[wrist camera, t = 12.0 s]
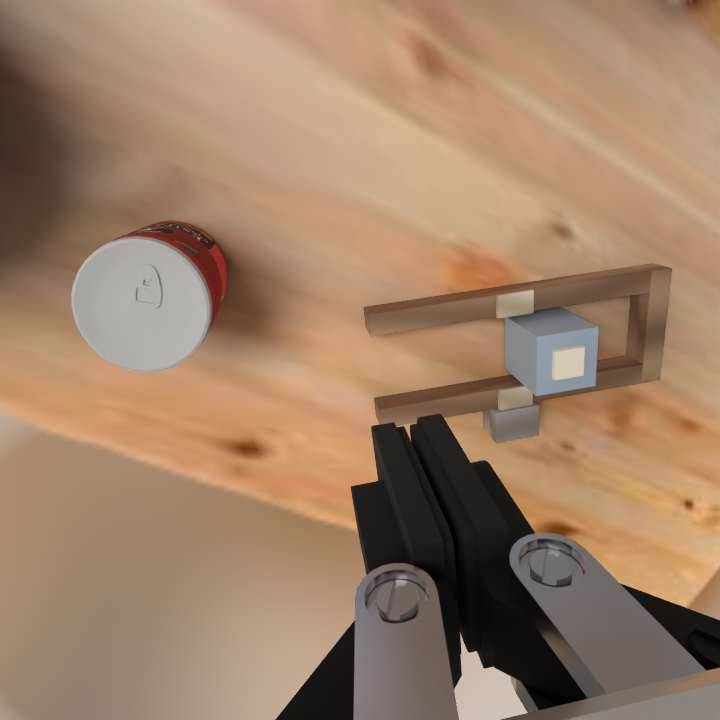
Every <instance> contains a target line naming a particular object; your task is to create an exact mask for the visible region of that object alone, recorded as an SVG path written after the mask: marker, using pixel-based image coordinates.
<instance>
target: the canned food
mask: <svg viewBox="0 0 720 720" xmlns="http://www.w3.org/2000/svg"><path fill="white" fill-rule="evenodd" d="M226 287H227V269H226V264H225V261H224V258H223V255H222V253H221V251H220V250H219V248H218V246H217V245H216V244H215V242H214V241H213V240H212V239H211V238H210V237H209V236H208V235H207V234H205V233H204V232H203V231H202V230H200V229H198V228H196V227H194V226H193V225H190V224H186V223H183V222H177V221H164V222H158V223H155V224H152V225H149V226H147V227H144V228H142V229H139V230H136V231H134V232H131V233H129V234H126V235H124V236H121V237H119V238H116V239H114V240H113V241H110V242H108V243H107V244H105V245H103V246H101V247H100V248H98V249H97V250H96V251H95V252H94V253H93V254H91V255H90V256H89V257H88V258H87V259H86V260H85V262H84V263H83V265H82V266H81V267H80V269H79V270H78V273H77V275H76V278H75V280H74V283H73V288H72V294H71V301H72V312H73V315H74V319H75V323H76V325H77V327H78V329H79V331H80V333H81V335H82V337H83V338H84V339H85V341H86V342H87V343H88V345H89V346H90V347H91V348H92V349H93V350H94V351H95V352H96V353H97V354H98V355H99V356H101V357H102V358H104V359H105V360H107V361H108V362H110V363H112V364H114V365H116V366H119V367H121V368H123V369H128V370H132V371H136V372H156V371H163V370H166V369H169V368H172V367H175V366H176V365H178V364H180V363H182V362H184V361H185V360H186V359H187V358H189V357H190V356H191V355H192V354H193V353H194V352H195V351H196V350H197V349H198V347H199V346H200V345H201V344H202V342H203V341H204V339H205V337H206V335H207V333H208V331H209V329H210V327H211V325H212V322H213V320H214V318H215V316H216V313H217V311H218V309H219V306H220V304H221V302H222V299H223V297H224V295H225V291H226Z"/></svg>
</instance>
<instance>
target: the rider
mask: <svg viewBox="0 0 720 720" xmlns="http://www.w3.org/2000/svg"><path fill="white" fill-rule="evenodd" d="M598 333H599V327H598V326H596V325H594V324H592V323H590V322H588V321H586V320H584V319H582V318H580V317H578V316H576V315H574V314H572V313H570V312H568V311H566V310H564V309H562V308H560V307H558V308H552V309H545V310H539V311H534V313H531V314H524V315H518V316H512V317H505V369H506V370H507V371H508V372H509V373H511V374H512V375H513V376H514V377H515V378H516V379H517V380H518V381H520V382H521V383H522V384H523V385H524V386H525V387H526V388H528V389H529V390H530V391H531V392H532V393H533V394H534V395H535V396H540V395H546V394H552V393H558V392H563V391H569V390H575V389H581V388H586V387H592V386H595V384H596V367H597V350H598Z"/></svg>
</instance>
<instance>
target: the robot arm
mask: <svg viewBox="0 0 720 720" xmlns="http://www.w3.org/2000/svg"><path fill="white" fill-rule="evenodd" d="M371 429H372V438H373V445H374V452H375V460H376V467H377V474H378V481H376V482H371V483H366V484H361V485H356V486H351V492H352V498H353V504H354V510H355V516H356V522H357V528H358V533H359V538H360V544H361V548H362V554H363V558H364V563H365V569H366V574H367V576H365V577H364V578H363V580H362V581H361V583H360V585H359V586H358V588H357V593H356V598H355V621H354V622H353V623H352V625H351V626H350V627H349V628H348V629H347V631H346V632H345V633H344V634H343V636H342V637H341V638H340V640H339V641H338V642H337V643H336V645H335V646H334V647H333V648H332V650H331V651H330V652H329V653H328V654H327V656H326V657H325V658H324V659H323V661H322V662H321V663H320V665H319V666H318V667H317V668H316V670H315V671H314V672H313V673H312V675H311V676H310V677H309V678H308V680H307V681H306V682H305V683H304V685H303V686H302V687H301V688H300V690H299V691H298V692H297V693H296V695H295V696H294V697H293V698H292V700H291V701H290V702H289V703H288V705H287V706H286V707H285V709H284V710H283V711H282V712H281V714H280V715H279V716H278V717H277V719H276V720H459V718H458V712H457V706H456V700H455V694H454V688H455V687H456V685H457V683H458V681H459V679H460V677H461V675H462V672H461V658H460V655H461V642H460V633H461V635H462V638H463V641H464V644H465V646H466V649H467V651H468V652H474V651H477V652H478V655H479V657H480V660H481V663H482V665H483V668H489V667H493V666H494V667H495V668H496V669H499V670H500V671H502V672H504V673H506V674H508V675H510V676H511V682H512V684H513V687H514V689H515V692H516V694H517V695H518V697H519V699H520V701H521V702H522V704H523V705H524V707H525V709H526V711H527V712H528V713H526V714H523V715H518V716H514V717H510V718H506V719H502V720H720V620H717V619H714V618H712V617H709V616H706V615H703V614H701V613H698V612H695V611H692V610H690V609H687V608H685V607H682V606H679V605H677V604H674V603H671V602H669V601H666V600H663V599H661V598H658V597H655V596H652V595H650V594H647V593H644V592H642V591H639V590H636V589H634V588H631V587H628V586H626V585H623V584H620V583H619V582H618V581H617V580H616V579H615V578H614V577H613V576H612V575H611V574H610V573H609V572H608V571H607V570H606V569H605V568H604V567H603V566H602V565H601V564H600V563H599V562H598V561H597V560H596V559H595V558H594V557H593V556H592V555H591V554H590V553H589V552H588V551H587V550H586V549H585V548H583V547H582V546H581V545H580V544H578V543H577V542H576V541H574V540H571V539H569V538H567V537H565V536H562V535H558V534H553V533H535V532H534V531H533V529H532V528H531V526H530V525H529V523H528V522H527V520H526V519H525V517H524V516H523V514H522V513H521V511H520V509H519V508H518V506H517V505H516V503H515V502H514V500H513V499H512V497H511V496H510V494H509V493H508V491H507V490H506V488H505V487H504V485H503V484H502V482H501V481H500V479H499V478H498V476H497V475H496V473H495V472H494V470H493V468H492V467H491V465H490V464H489V463H488V462H487V461H485V460H483V461H478V462H473V463H470V461H469V459H468V458H467V456H466V454H465V453H464V451H463V449H462V448H461V446H460V444H459V443H458V441H457V439H456V438H455V436H454V434H453V433H452V431H451V429H450V428H449V426H448V424H447V423H446V421H445V419H444V418H443V416H442V415H441V414H440V413H439V414H434V415H428V416H423V417H418V418H417V424H413V425H410V435H411V441H410V439H409V436H408V434H407V432H406V429H405V427H404V426H402V427H396V425H395V423H394V422H391V423H386V424H380V425H375V426H372V427H371Z"/></svg>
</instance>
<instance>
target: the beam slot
mask: <svg viewBox="0 0 720 720" xmlns="http://www.w3.org/2000/svg"><path fill="white" fill-rule="evenodd" d="M671 272H672V268H668V267H664V266H660V265H656V264H646V265H640V266H633V267H626V268H620V269H613V270H607V271H600V272H593V273H587V274H580V275H574V276H567V277H560V278H554V279H547V280H540V281H534V282H527V283H521V284H514V285H507V286H501V287H494V288H488V289H481V290H474V291H468V292H461V293H455V294H448V295H441V296H435V297H428V298H422V299H415V300H408V301H402V302H395V303H389V304H382V305H375V306H369V307H364V315H365V324H366V329H367V331H368V332H369V334H370V336H377V335H383V334H389V333H396V332H402V331H408V330H415V329H421V328H428V327H434V326H440V325H447V324H453V323H459V322H466V321H472V320H479V319H485V318H491V317H497V318H498V319H499V318H505V317H512V316H518V315H524V314H531V313H534V311H536V310H542V309H549V308H555V307H561V306H568V305H574V304H580V303H587V302H593V301H600V300H606V299H612V298H619V297H625V296H631V301H630V314H629V326H628V339H627V351H626V356H621V357H615V358H609V359H603V360H597V367H596V384H595V386H592V387H586V388H581V389H575V390H569V391H563V392H558V393H552V394H546V395H540V396H535V395H534V394H533V393H532V392H531V391H530V390H529V389H528V388H526V387H525V386H524V385H523V384H522V383H521V382H520V381H518V380H517V379H516V378H515V377H514V376H513V375H508V376H502V377H497V378H491V379H485V380H479V381H473V382H467V383H461V384H455V385H449V386H443V387H437V388H431V389H425V390H419V391H414V392H408V393H402V394H396V395H390V396H384V397H378V398H374V401H375V410H376V417H377V419H378V422H379V424H386V423H391V422H394V423H395V425H396V426H399V425H404V424H410V423H416V422H417V418H418V417H423V416H428V415H434V414H439V413H440V414H441V415H442V416H443V418H444V417H450V416H456V415H462V414H467V413H473V412H479V411H483V425H484V428H485V430H486V431H487V432H488V434H489V435H490V436H491V437H492V439H493V440H494V441H495V442H496V443H499V442H505V441H510V440H516V439H521V438H527V437H532V436H538V435H539V405H538V404H537V403H536V401H542V400H547V399H553V398H559V397H565V396H570V395H576V394H582V393H588V392H593V391H599V390H605V389H610V388H616V387H622V386H628V385H633V384H639V383H645V382H651V381H656V380H660V374H661V364H662V355H663V346H664V337H665V327H666V318H667V309H668V300H669V290H670V281H671Z"/></svg>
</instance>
